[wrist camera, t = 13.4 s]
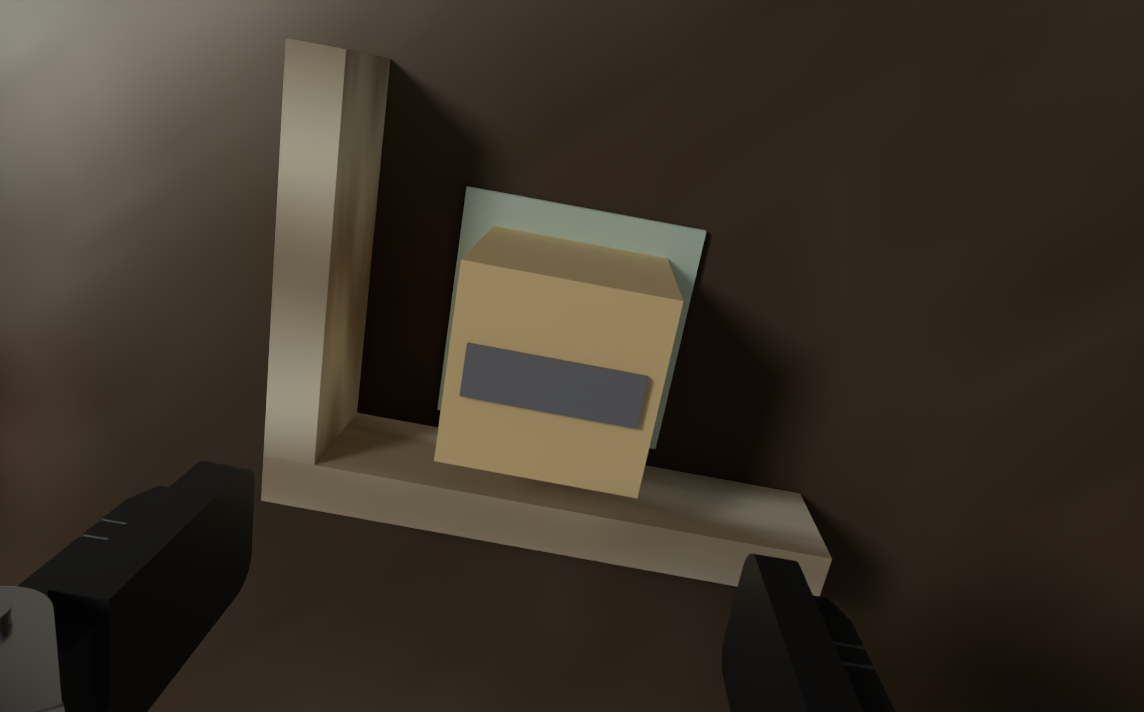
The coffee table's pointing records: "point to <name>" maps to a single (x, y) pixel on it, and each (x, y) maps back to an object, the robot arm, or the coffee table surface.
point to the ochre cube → (557, 360)
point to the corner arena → (406, 450)
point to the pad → (589, 228)
